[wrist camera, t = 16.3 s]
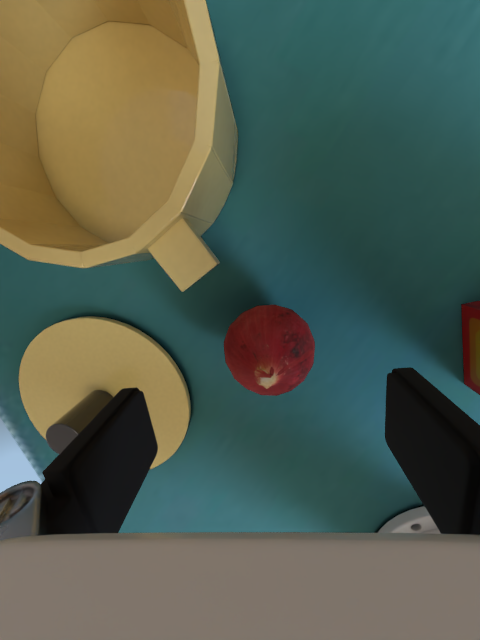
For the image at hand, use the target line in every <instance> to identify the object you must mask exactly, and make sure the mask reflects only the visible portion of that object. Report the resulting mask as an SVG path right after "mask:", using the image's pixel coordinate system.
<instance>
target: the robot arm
mask: <svg viewBox="0 0 480 640" xmlns="http://www.w3.org/2000/svg"><path fill="white" fill-rule="evenodd" d="M385 439H386V442H387V445H388V447H389V448H390V450H391V452H392V453H393V455H394V457H395V458H396V460H397V462H398V463H399V465H400V467H401V468H402V470H403V471H404V473H405V475H406V476H407V478H408V480H409V481H410V483H411V485H412V486H413V488H414V490H415V491H416V493H417V495H418V496H419V498H420V500H421V501H422V503H423V505H424V506H422V507H418V508H415V509H411V510H408V511H406V512H404V513H402V514H399V515H397V516H396V517H394V518H393V519H391V520H390V521H388V522H387V523H386V524H385V525H384V526H383V527H382V528H381V529H380V530H379V531H378V533H317V532H201V533H118V532H119V530H120V528H121V526H122V524H123V522H124V519H125V517H126V515H127V513H128V511H129V509H130V507H131V505H132V503H133V501H134V499H135V497H136V495H137V493H138V491H139V489H140V487H141V485H142V483H143V481H144V479H145V477H146V475H147V473H148V471H149V469H150V467H151V465H152V463H153V461H154V459H155V457H156V455H157V451H158V444H157V440H156V437H155V433H154V429H153V426H152V422H151V418H150V415H149V411H148V407H147V404H146V400H145V396H144V393H143V392H142V391H140V390H139V389H138V388H137V387H136V388H123V389H121V390H120V391H119V392H118V393H117V394H116V395H115V396H114V397H113V398H112V400H111V401H110V402H109V403H108V404H107V405H106V406H105V407H104V408H103V409H102V410H101V411H100V412H99V413H98V414H97V415H96V416H95V417H94V418H93V420H92V421H91V422H90V423H89V424H88V425H87V426H86V427H85V428H84V429H83V430H82V431H81V432H80V433H79V434H78V435H77V436H76V437H75V439H74V440H73V441H72V442H71V443H70V444H69V445H68V446H67V447H66V448H65V449H64V450H63V451H62V452H61V453H60V454H59V455H58V456H57V457H56V459H55V460H54V461H53V462H52V463H51V464H50V465H49V466H48V467H47V468H46V469H45V470H44V471H43V475H44V477H45V480H44V481H43V483H42V484H41V485H40V484H39V483H38V482H37V481H27V482H22V483H19V484H17V485H14V486H12V487H10V488H8V489H6V490H5V491H3V492H1V493H0V640H480V425H479V424H477V423H476V422H475V421H474V420H473V419H472V418H470V417H469V416H468V415H467V414H466V413H465V412H463V411H462V410H461V409H460V408H459V407H458V406H456V405H455V404H454V403H453V402H452V401H451V400H449V399H448V398H447V397H446V396H445V395H444V394H442V393H441V392H440V391H439V390H438V389H437V388H435V387H434V386H433V385H432V384H431V383H430V382H428V381H427V380H426V379H425V378H424V377H423V376H421V375H420V374H419V373H418V372H417V371H416V370H414V369H413V368H398V369H393V370H392V373H388V375H387V390H386V418H385Z"/></svg>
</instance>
